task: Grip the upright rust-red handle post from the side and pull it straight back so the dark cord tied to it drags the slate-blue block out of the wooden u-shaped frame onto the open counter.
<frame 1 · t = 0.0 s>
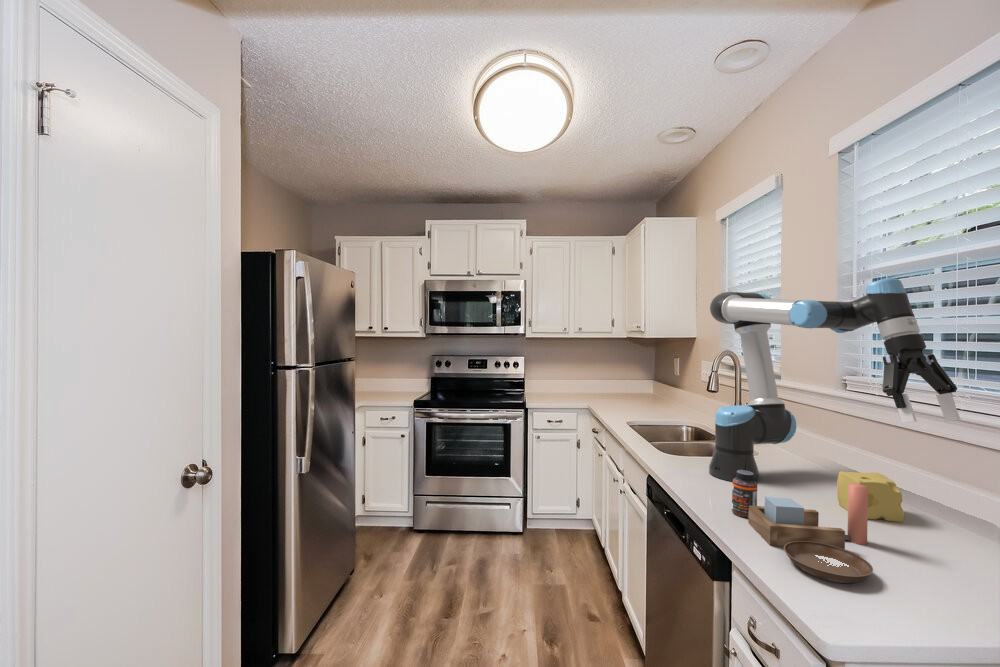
hand: (931, 421, 107), 28 cm above the worktop, tool tilted 20°, fingers open, 13 cm apart
saucer: (826, 570, 92), on the worktop
cheese: (868, 514, 121), on the worktop
wooden u-shaped frame: (796, 536, 106), on the worktop
supplement bottle: (744, 514, 119), on the worktop
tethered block: (783, 535, 106), on the worktop
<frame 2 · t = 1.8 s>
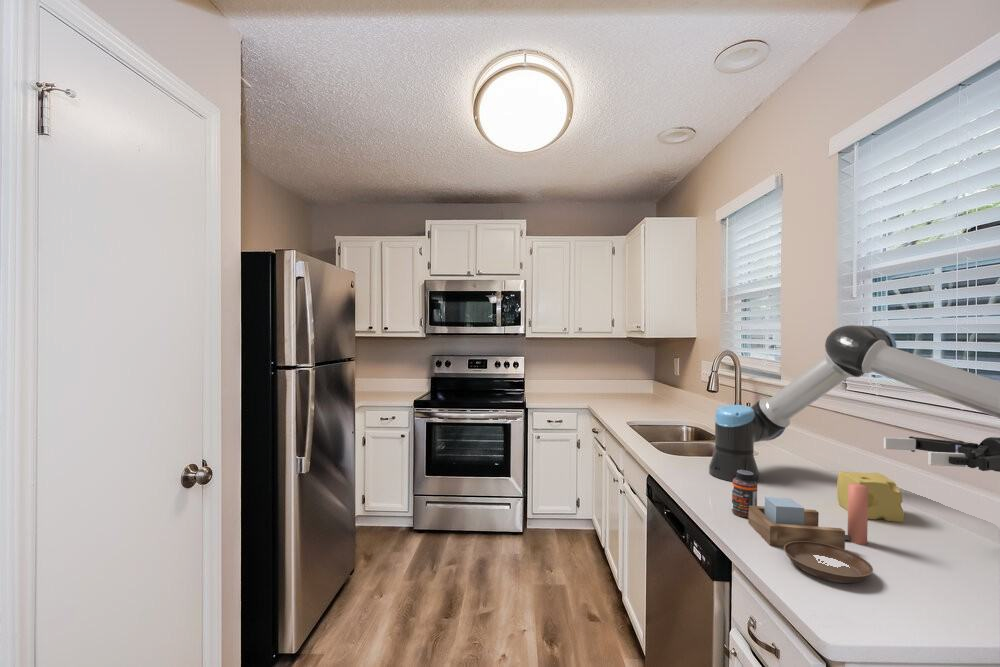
hand: (905, 450, 102), 22 cm above the worktop, tool horizontal, fingers open, 13 cm apart
nothing on the worktop moved.
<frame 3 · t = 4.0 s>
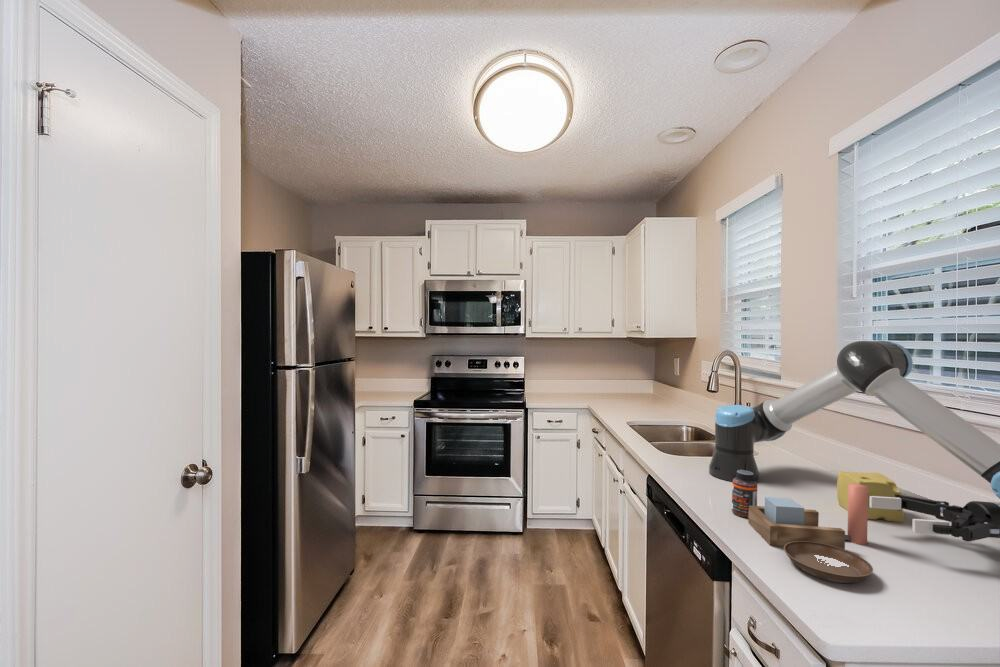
hand: (890, 513, 103), 7 cm above the worktop, tool horizontal, fingers open, 13 cm apart
nothing on the worktop moved.
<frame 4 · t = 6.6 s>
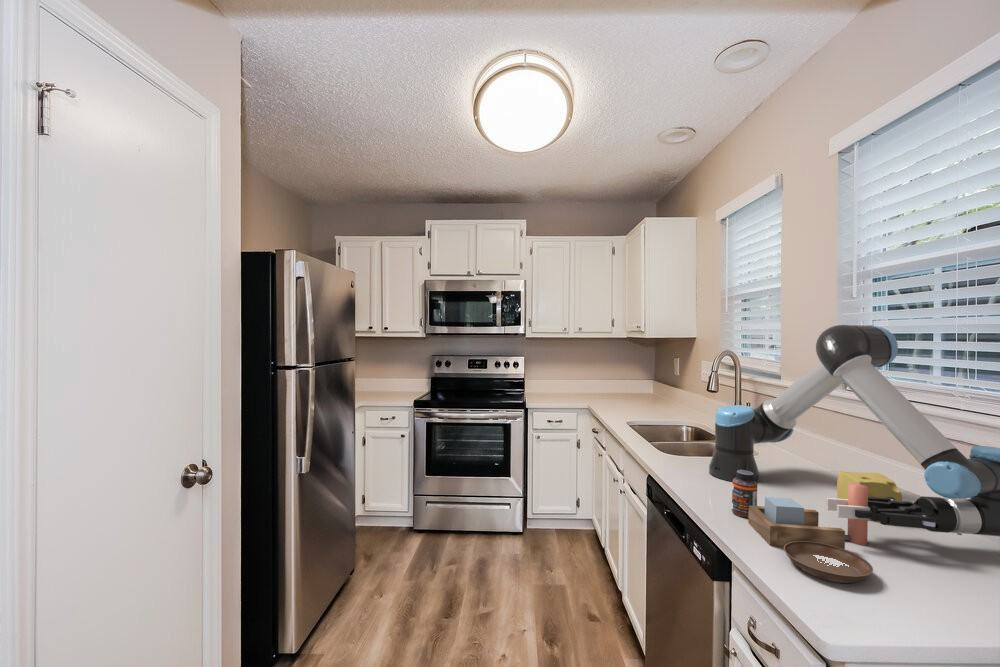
hand: (832, 507, 105), 8 cm above the worktop, tool horizontal, fingers closed on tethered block, 4 cm apart
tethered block: (783, 535, 106), on the worktop, touching gripper
everything else where it was.
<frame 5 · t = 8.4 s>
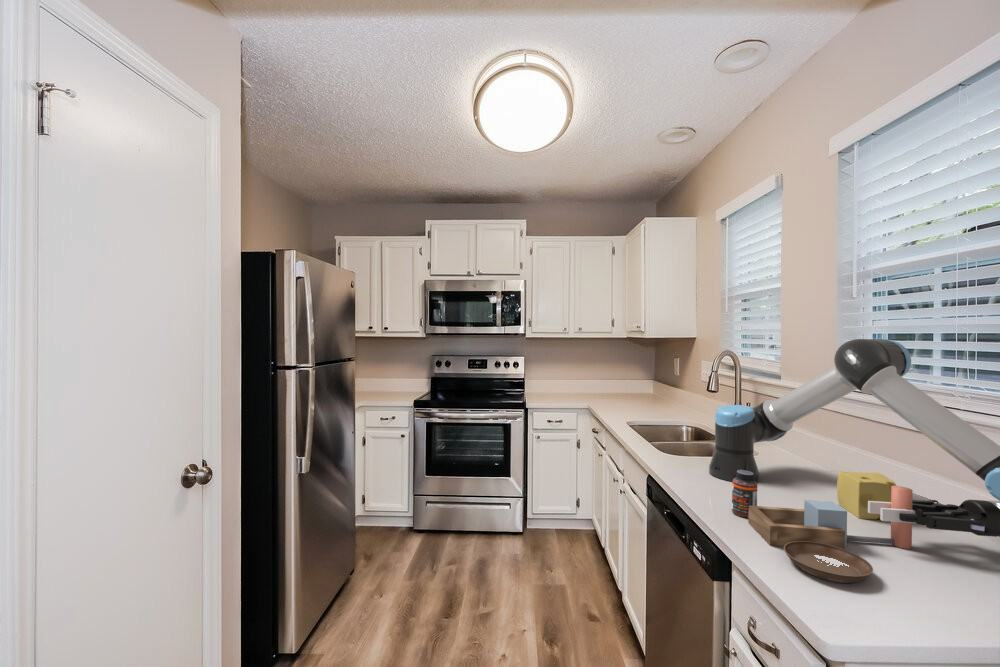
hand: (875, 510, 103), 8 cm above the worktop, tool horizontal, fingers closed on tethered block, 4 cm apart
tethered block: (824, 539, 105), on the worktop, touching gripper
everything else where it was.
when the fingers open (8 cm above the worktop, at t = 10.5 s): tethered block stays where it is, on the worktop.
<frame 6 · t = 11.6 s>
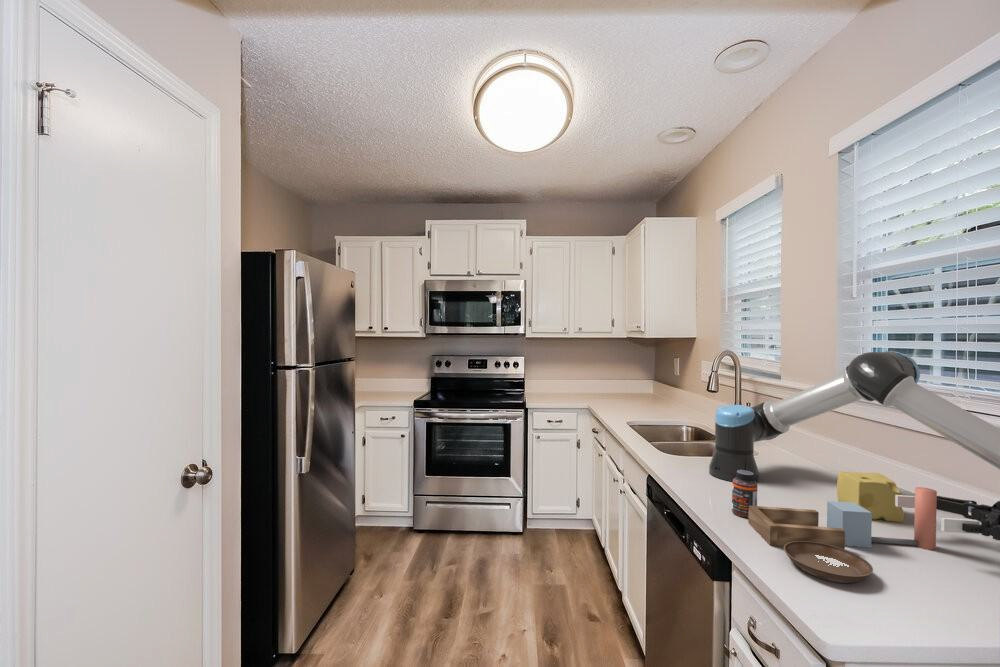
hand: (917, 511, 102), 8 cm above the worktop, tool horizontal, fingers open, 13 cm apart
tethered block: (848, 540, 104), on the worktop
everything else where it was.
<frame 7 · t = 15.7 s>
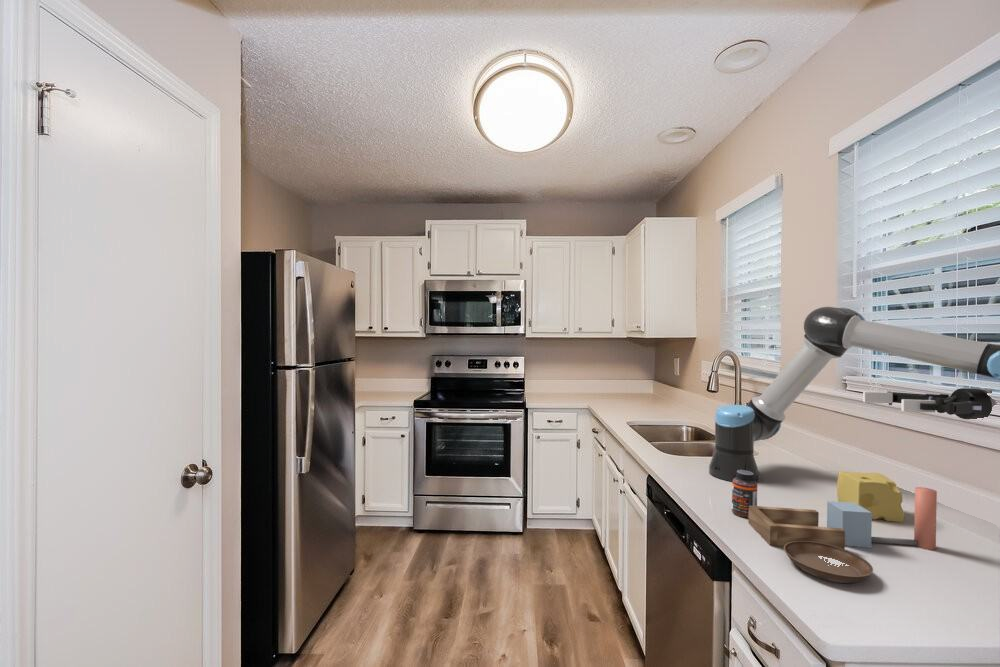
hand: (881, 400, 111), 32 cm above the worktop, tool horizontal, fingers open, 13 cm apart
nothing on the worktop moved.
at the end: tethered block moved 14.0 cm from its start; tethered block inside the target area (7.2 cm from its centre), on the worktop; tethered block touching worktop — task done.
